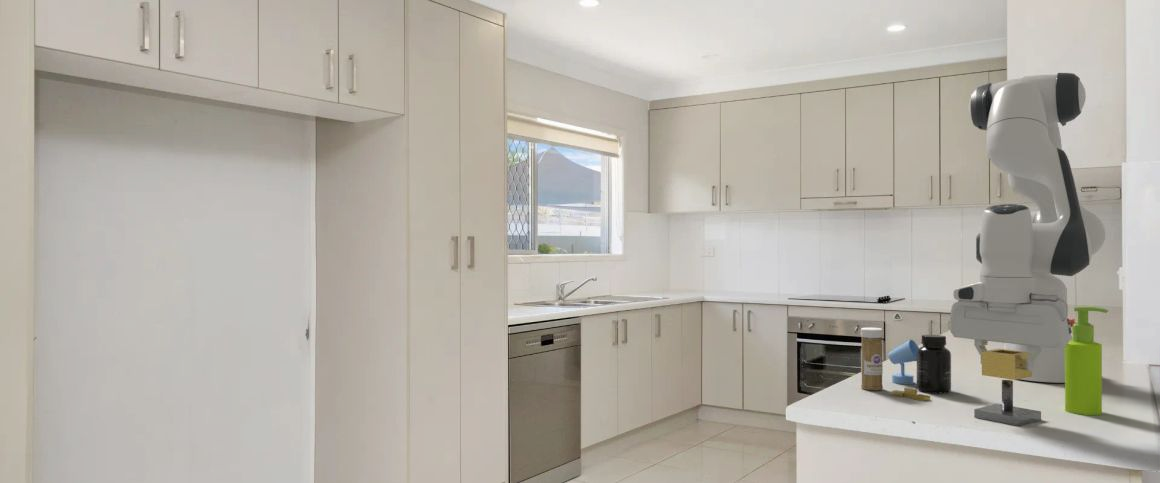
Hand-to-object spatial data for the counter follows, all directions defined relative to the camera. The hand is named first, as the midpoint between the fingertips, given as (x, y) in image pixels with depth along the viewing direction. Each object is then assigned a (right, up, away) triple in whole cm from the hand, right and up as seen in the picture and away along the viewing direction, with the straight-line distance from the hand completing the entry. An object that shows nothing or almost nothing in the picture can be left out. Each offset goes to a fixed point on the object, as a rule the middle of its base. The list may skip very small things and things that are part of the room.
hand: (1006, 367), depth 142 cm
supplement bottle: (-2, -10, +25) cm, 27 cm away
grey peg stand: (0, -10, 0) cm, 10 cm away
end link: (0, -2, 0) cm, 2 cm away
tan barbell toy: (-10, -9, +19) cm, 23 cm away
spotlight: (-4, -9, +34) cm, 36 cm away
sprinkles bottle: (-14, -10, +28) cm, 33 cm away
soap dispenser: (+18, -10, +5) cm, 21 cm away
